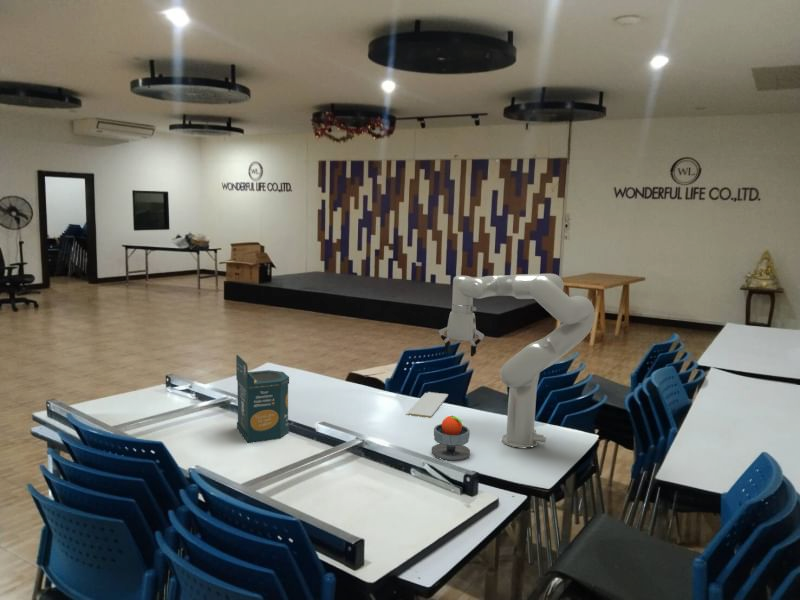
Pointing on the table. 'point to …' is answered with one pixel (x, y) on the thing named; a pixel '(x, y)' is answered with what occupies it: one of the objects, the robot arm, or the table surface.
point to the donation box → (261, 403)
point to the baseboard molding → (427, 404)
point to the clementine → (452, 425)
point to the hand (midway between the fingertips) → (460, 354)
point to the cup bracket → (451, 444)
